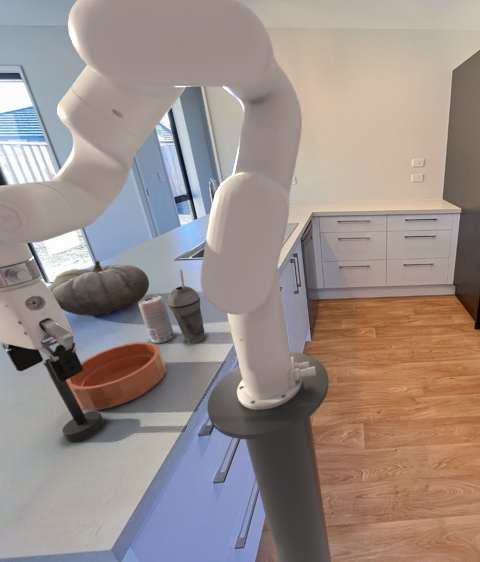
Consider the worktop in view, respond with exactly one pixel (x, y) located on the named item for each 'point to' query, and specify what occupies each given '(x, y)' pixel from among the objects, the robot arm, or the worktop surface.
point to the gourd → (99, 289)
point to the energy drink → (156, 319)
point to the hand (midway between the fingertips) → (50, 370)
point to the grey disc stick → (75, 413)
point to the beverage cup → (187, 312)
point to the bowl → (117, 375)
